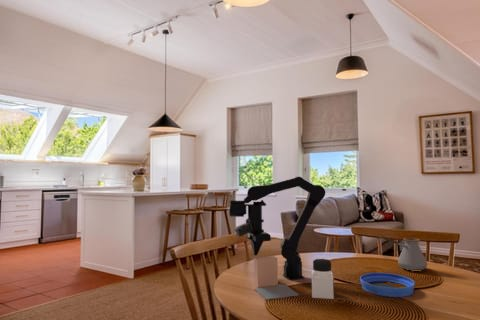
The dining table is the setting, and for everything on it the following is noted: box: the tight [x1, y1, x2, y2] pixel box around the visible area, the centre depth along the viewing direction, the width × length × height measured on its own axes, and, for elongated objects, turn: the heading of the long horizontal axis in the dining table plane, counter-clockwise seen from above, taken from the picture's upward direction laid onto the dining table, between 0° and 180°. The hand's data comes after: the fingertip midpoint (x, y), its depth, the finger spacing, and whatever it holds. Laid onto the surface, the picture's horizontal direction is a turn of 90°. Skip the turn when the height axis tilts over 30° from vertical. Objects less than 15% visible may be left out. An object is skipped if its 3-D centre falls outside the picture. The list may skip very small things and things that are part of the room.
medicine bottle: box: [311, 258, 335, 300], centre depth 118 cm, size 7×7×12 cm
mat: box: [254, 284, 300, 301], centre depth 121 cm, size 12×11×1 cm
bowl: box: [359, 272, 416, 298], centre depth 124 cm, size 18×18×4 cm
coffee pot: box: [378, 235, 428, 270], centre depth 147 cm, size 21×12×15 cm, turn 104°
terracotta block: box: [253, 255, 279, 288], centre depth 130 cm, size 8×4×10 cm, turn 108°
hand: (255, 255), depth 141 cm, fingers closed
